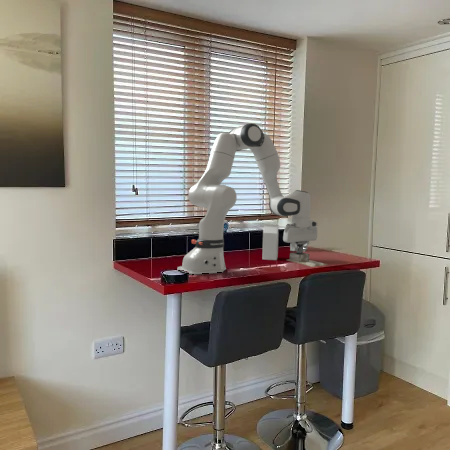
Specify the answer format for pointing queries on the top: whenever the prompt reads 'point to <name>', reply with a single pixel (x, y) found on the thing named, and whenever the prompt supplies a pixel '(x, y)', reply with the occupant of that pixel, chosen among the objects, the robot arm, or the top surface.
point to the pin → (300, 247)
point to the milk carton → (270, 242)
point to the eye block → (304, 259)
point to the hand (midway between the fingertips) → (299, 250)
